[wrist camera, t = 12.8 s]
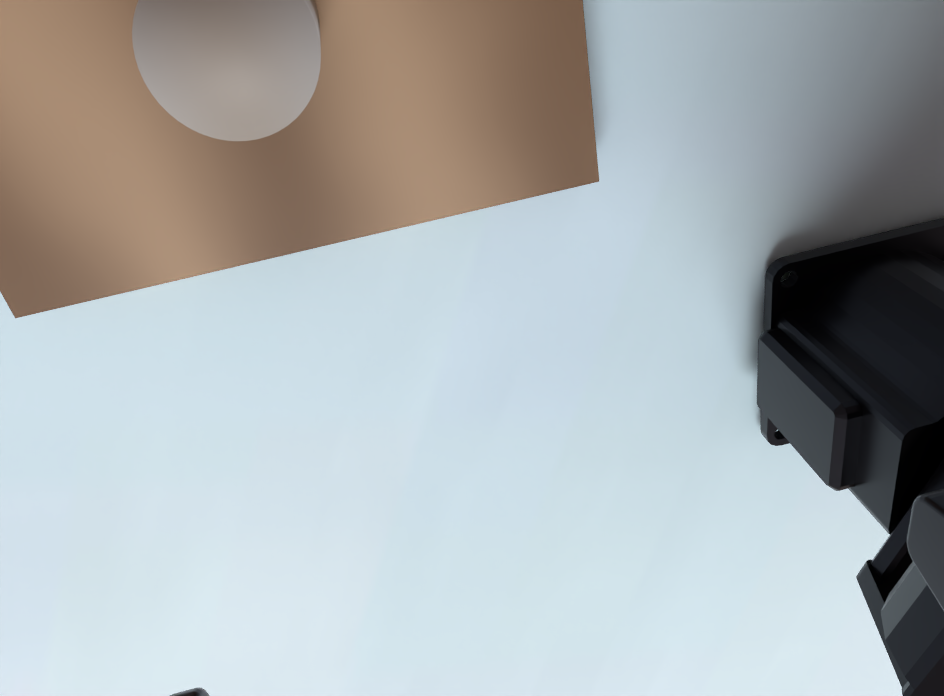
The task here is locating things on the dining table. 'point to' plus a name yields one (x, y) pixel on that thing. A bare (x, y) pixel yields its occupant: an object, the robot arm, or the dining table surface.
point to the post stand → (268, 129)
